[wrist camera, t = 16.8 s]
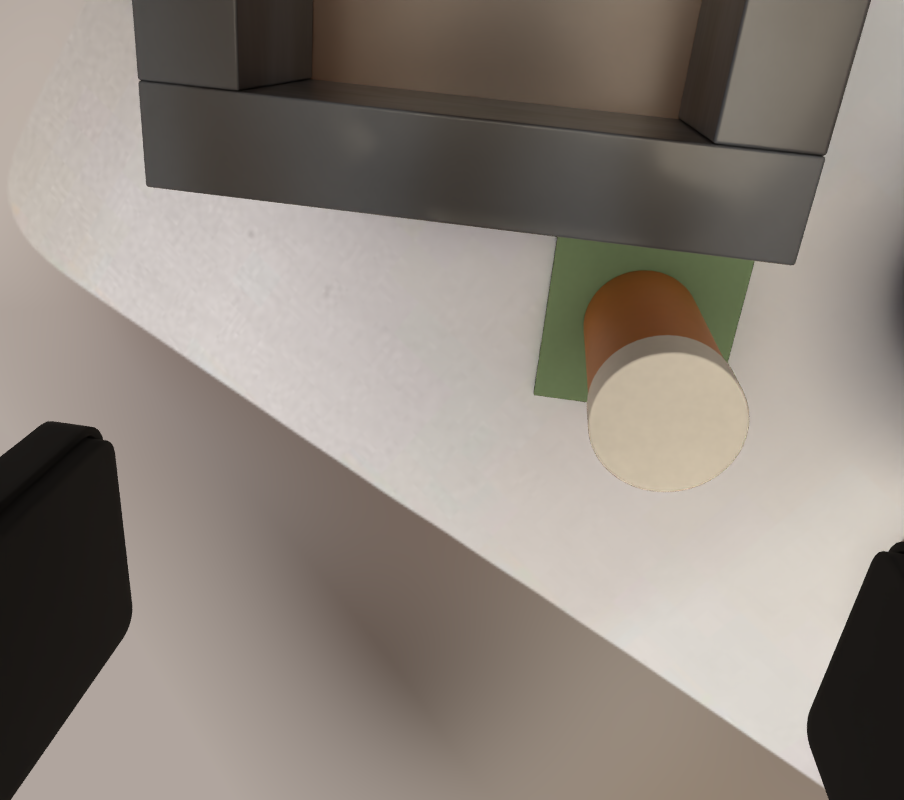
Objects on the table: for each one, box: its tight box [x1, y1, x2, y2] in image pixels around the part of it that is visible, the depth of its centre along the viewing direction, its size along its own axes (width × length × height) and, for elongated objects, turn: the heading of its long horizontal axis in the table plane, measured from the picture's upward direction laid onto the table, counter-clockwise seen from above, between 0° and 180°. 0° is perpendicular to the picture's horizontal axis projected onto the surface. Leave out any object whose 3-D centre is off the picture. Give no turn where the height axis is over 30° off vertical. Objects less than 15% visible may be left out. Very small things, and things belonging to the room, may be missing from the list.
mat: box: [534, 237, 754, 402], centre depth 42 cm, size 10×10×1 cm
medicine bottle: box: [584, 270, 749, 492], centre depth 36 cm, size 6×6×12 cm
